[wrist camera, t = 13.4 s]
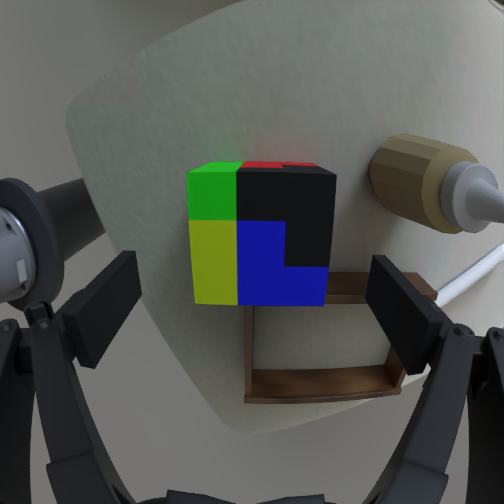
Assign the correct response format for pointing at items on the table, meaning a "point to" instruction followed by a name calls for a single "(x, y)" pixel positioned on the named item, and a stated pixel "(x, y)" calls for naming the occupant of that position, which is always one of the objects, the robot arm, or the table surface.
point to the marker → (470, 276)
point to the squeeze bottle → (435, 185)
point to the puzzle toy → (260, 232)
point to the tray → (328, 380)
